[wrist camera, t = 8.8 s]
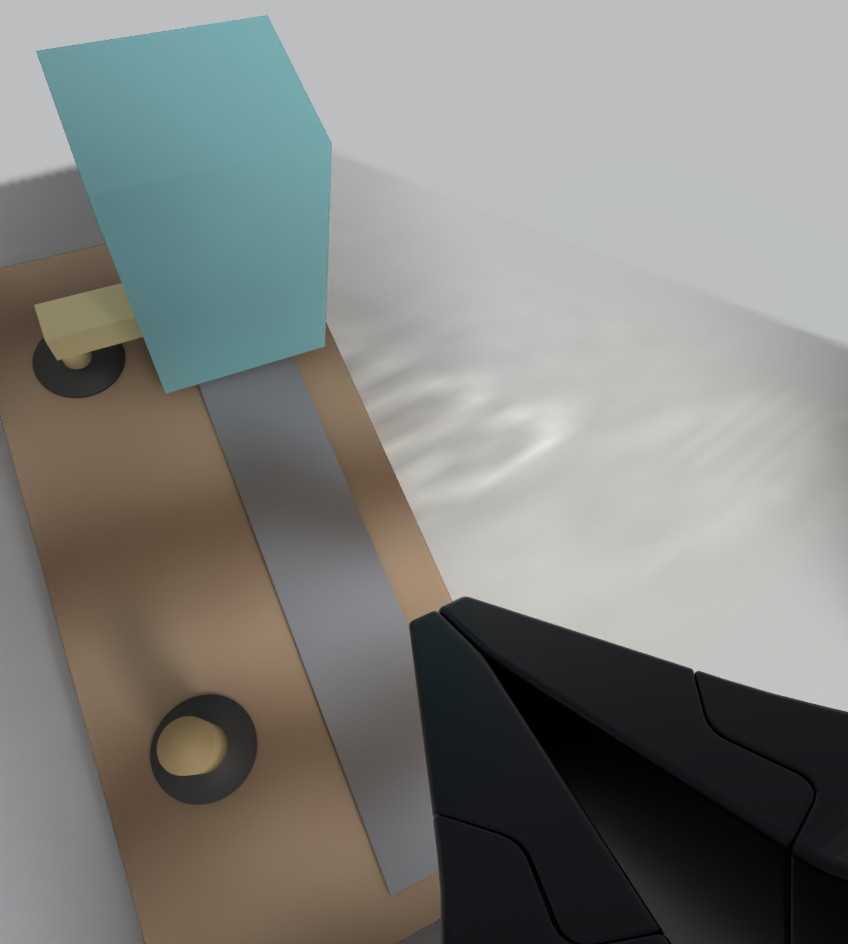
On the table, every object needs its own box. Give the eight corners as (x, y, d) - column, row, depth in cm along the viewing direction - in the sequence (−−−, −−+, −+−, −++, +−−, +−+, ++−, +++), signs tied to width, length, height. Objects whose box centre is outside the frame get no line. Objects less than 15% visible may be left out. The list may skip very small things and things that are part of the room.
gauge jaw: (324, 346, 22) (331, 143, 15) (81, 418, 20) (-49, 224, 13) (280, 247, 24) (267, 15, 16) (46, 306, 21) (-91, 70, 14)
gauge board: (541, 841, 20) (609, 864, 16) (192, 1034, 17) (150, 1131, 13) (275, 243, 27) (267, 135, 22) (-11, 314, 24) (-88, 207, 19)
